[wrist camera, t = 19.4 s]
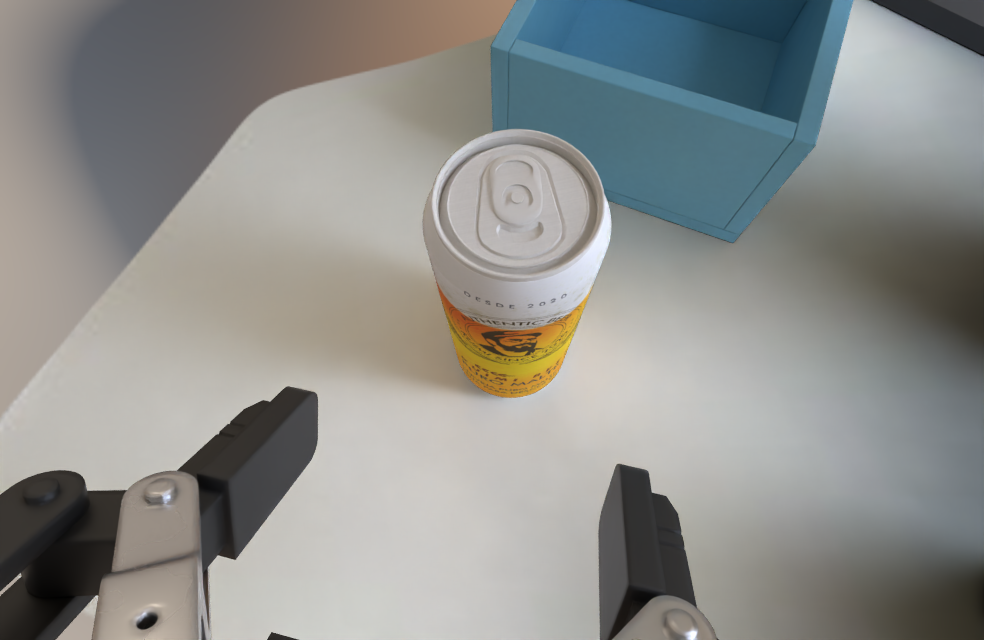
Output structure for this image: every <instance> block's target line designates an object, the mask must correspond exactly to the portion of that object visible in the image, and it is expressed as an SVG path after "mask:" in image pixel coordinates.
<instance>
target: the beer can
mask: <svg viewBox="0 0 984 640" xmlns="http://www.w3.org/2000/svg"><path fill="white" fill-rule="evenodd" d="M611 227H612V226H611V214H610V208H609V205H608V201H607V198H606V196H605V194H604V189H603V186H602V183H601V180H600V178H599V176H598V173H597V172H596V170H595V168H594V167H593V165H592V164H591V163H590V161H589V160H588V159H587V158H586V157H585V156H584V155H583V154H582V153H581V152H580V151H579V150H578V149H576V148H575V147H574V146H572V145H571V144H569V143H567V142H566V141H564V140H562V139H560V138H558V137H555V136H553V135H550V134H547V133H543V132H540V131H534V130H526V129H508V130H500V131H496V132H491V133H488V134H485V135H482V136H480V137H477V138H475V139H473V140H471V141H469V142H468V143H466V144H465V145H463V146H462V147H460V148H459V149H458V150H457V151H455V152H454V153H453V154H452V155H451V156H450V157H449V158H448V159H447V161H446V162H445V163H444V165H443V166H442V167H441V169H440V171H439V173H438V175H437V177H436V179H435V182H434V184H433V188H432V189H431V191H430V193H429V196H428V198H427V201H426V204H425V208H424V213H423V235H424V240H425V244H426V248H427V251H428V255H429V258H430V262H431V265H432V269H433V272H434V276H435V279H436V283H437V286H438V290H439V293H440V297H441V301H442V304H443V308H444V311H445V315H446V318H447V322H448V325H449V329H450V332H451V336H452V339H453V343H454V346H455V350H456V353H457V357H458V360H459V363H460V366H461V368H462V370H463V371H464V373H465V375H466V376H467V377H468V378H469V380H470V381H471V382H472V383H473V384H475V385H476V386H477V387H478V388H480V389H482V390H483V391H485V392H487V393H489V394H492V395H495V396H500V397H507V398H516V397H523V396H527V395H530V394H533V393H535V392H537V391H539V390H541V389H542V388H544V387H545V386H546V385H547V384H548V383H550V382H551V381H552V379H553V378H554V377H555V376H556V374H557V373H558V371H559V369H560V368H561V365H562V363H563V360H564V358H565V355H566V353H567V350H568V347H569V345H570V342H571V340H572V337H573V335H574V332H575V330H576V327H577V325H578V322H579V320H580V317H581V314H582V312H583V309H584V307H585V304H586V302H587V299H588V297H589V294H590V292H591V289H592V287H593V284H594V281H595V279H596V276H597V274H598V271H599V269H600V266H601V264H602V261H603V259H604V256H605V253H606V251H607V248H608V245H609V241H610V237H611Z"/></svg>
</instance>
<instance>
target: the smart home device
mask: <svg viewBox="0 0 984 640" xmlns="http://www.w3.org/2000/svg"><path fill="white" fill-rule="evenodd" d="M873 1H875V2H877V3H879V4H881V5H883V6H885V7H887V8H889V9H891V10H893V11H895V12H897V13H899V14H901V15H903V16H905V17H907V18H909V19H911V20H913V21H915V22H917V23H919V24H921V25H924V26H926V27H928V28H930V29H932V30H934V31H936V32H938V33H940V34H942V35H944V36H946V37H948V38H950V39H952V40H954V41H956V42H958V43H960V44H962V45H964V46H966V47H968V48H970V49H972V50H974V51H976V52H978V53H980V54H982V55H984V0H873Z"/></svg>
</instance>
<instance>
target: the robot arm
mask: <svg viewBox="0 0 984 640" xmlns="http://www.w3.org/2000/svg"><path fill="white" fill-rule="evenodd" d="M317 440H318V397H317V394H316V393H315V392H311V391H307V390H302V389H298V388H294V387H289V386H288V387H286V388H284V389H283V390H282V391H281V392H280V393H279V394H278V395H277V396H276V397H275V398H274V399H273V400H272V401H271V402H269V401H264V400H263V401H260V402H258V403H256V404H254V405H252V406H250V407H248V408H246V409H244V410H243V411H242V412H241V413H239V414H238V415H237V416H236V417H235V418H234V419H233V420H232V421H231V423H230V424H227V425H226V426H225V427H224V428H223V429H222V430H221V431H220V433H219V435H218V434H217V435H215V436H214V437H213V438H212V439H211V440H210V441H209V442H208V443H207V444H206V445H205V446H203V447H202V448H201V449H200V450H199V451H198V452H197V453H196V454H195V455H194V456H192V457H191V458H190V459H189V460H188V461H187V462H186V463H185V464H184V465H183V466H182V467H180V468H179V469H178V470H177V471H165V472H160V473H156V474H152V475H150V476H147V477H145V478H143V479H141V480H139V481H138V482H136V483H135V484H133V485H132V486H131V487H130V488H129V489H128V490H114V491H87V488H86V484H85V480H84V478H83V477H82V476H81V475H80V474H78V473H76V472H72V471H66V470H58V471H49V472H44V473H40V474H37V475H34V476H31V477H28V478H26V479H24V480H22V481H20V482H18V483H16V484H15V485H13V486H12V487H10V488H9V489H8V490H6V491H5V492H3V493H2V494H1V495H0V591H1V590H2V589H3V588H4V587H6V585H8V584H9V583H10V582H11V581H12V580H13V579H14V578H15V577H17V576H18V575H19V574H20V573H21V575H22V577H21V578H19V579H18V580H17V581H16V582H15V583H14V584H13V585H12V586H11V587H10V588H9V589H8V590H6V591H5V592H4V593H3V594H2V595H1V596H0V640H55V639H57V638H58V636H59V635H60V634H61V633H62V632H63V631H64V630H65V629H66V628H67V626H68V625H69V624H70V623H71V622H72V621H73V620H74V619H75V618H76V617H77V615H78V614H79V613H80V612H81V611H82V610H83V609H84V608H85V607H86V606H87V604H88V603H89V602H90V601H91V600H92V599H93V598H94V597H95V596H96V595H99V596H98V603H97V609H96V615H95V621H94V628H93V634H92V640H211V613H210V585H209V569H208V566H209V565H210V564H211V563H212V561H213V560H214V559H215V558H216V557H217V555H219V556H223V557H227V558H230V559H234V560H236V558H237V557H238V556H239V554H240V553H241V552H242V550H243V549H244V548H245V546H246V545H247V544H248V543H249V541H250V540H251V539H252V537H253V536H254V535H255V533H256V532H257V531H258V529H259V528H260V527H261V525H262V524H263V523H264V522H265V520H266V519H267V518H268V516H269V515H270V514H271V512H272V511H273V510H274V508H275V507H276V506H277V504H278V503H279V502H280V500H281V499H282V498H283V497H284V495H285V494H286V493H287V491H288V490H289V489H290V487H291V486H292V485H293V483H294V482H295V481H296V479H297V478H298V477H299V475H300V474H301V473H302V472H303V470H304V469H305V468H306V466H307V465H308V464H309V462H310V461H311V459H312V457H313V455H314V452H315V450H316V446H317ZM599 602H600V640H719V639H717V638H716V634H715V631H714V629H713V627H712V625H711V624H710V622H709V621H708V619H707V618H706V617H705V616H704V615H703V613H702V612H701V611H699V610H698V609H697V605H696V601H695V596H694V591H693V586H692V581H691V576H690V571H689V566H688V561H687V556H686V551H685V550H684V541H683V537H682V535H681V527H680V522H679V517H678V513H677V512H676V510H675V509H674V507H673V506H672V504H671V503H670V501H669V500H668V498H667V497H666V496H664V495H660V494H655V493H652V492H651V485H650V478H649V473H648V471H647V470H644V469H640V468H635V467H631V466H627V465H622V464H617V465H616V467H615V470H614V473H613V476H612V479H611V482H610V486H609V489H608V492H607V495H606V498H605V501H604V504H603V508H602V511H601V516H600V522H599ZM267 640H297V639H294V638H290V637H287V636H283V635H280V634H276V633H273V632H271V634H270V636H269V637H268V639H267Z"/></svg>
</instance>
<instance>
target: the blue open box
mask: <svg viewBox="0 0 984 640" xmlns="http://www.w3.org/2000/svg"><path fill="white" fill-rule="evenodd" d="M852 3H853V0H517V1H516V3H515V4H514V6H513V8H512V9H511V11H510V13H509V15H508V17H507V18H506V20H505V22H504V23H503V25H502V27H501V29H500V30H499V32H498V34H497V36H496V38H495V39H494V41H493V43H492V45H491V86H492V125H493V132H496V131H500V130H508V129H526V130H534V131H540V132H543V133H547V134H550V135H553V136H555V137H558V138H560V139H562V140H564V141H566V142H567V143H569V144H571V145H572V146H574V147H575V148H576V149H578V150H579V151H580V152H581V153H582V154H583V155H584V156H585V157H586V158H587V159H588V160H589V161H590V163H591V164H592V165H593V167H594V168H595V170H596V172H597V173H598V176H599V178H600V180H601V183H602V186H603V189H604V194H605V196H606V198H607V200H608V201H611V202H614V203H617V204H620V205H623V206H626V207H629V208H632V209H635V210H638V211H641V212H643V213H646V214H649V215H652V216H655V217H658V218H661V219H664V220H667V221H670V222H673V223H676V224H678V225H681V226H684V227H687V228H690V229H693V230H696V231H699V232H702V233H705V234H708V235H711V236H713V237H716V238H719V239H722V240H725V241H728V242H731V243H734V242H735V240H736V239H737V238H738V237H739V236H740V234H741V233H742V232H743V231H744V230H745V229H746V227H747V226H748V225H749V224H750V223H751V221H752V220H753V219H754V218H755V217H756V216H757V214H758V213H759V212H760V211H761V210H762V208H763V207H764V206H765V205H766V204H767V203H768V201H769V200H770V199H771V198H772V197H773V195H774V194H775V193H776V192H777V191H778V190H779V188H780V187H781V186H782V185H783V184H784V182H785V181H786V180H787V179H788V178H789V176H790V175H791V174H792V173H793V172H794V171H795V169H796V168H797V167H798V166H799V165H800V163H801V162H802V161H803V160H804V159H805V158H806V156H807V155H808V154H809V153H810V152H811V150H812V149H813V148H814V147H815V146H816V142H817V138H818V134H819V130H820V127H821V123H822V119H823V115H824V111H825V107H826V103H827V100H828V96H829V92H830V88H831V84H832V80H833V76H834V73H835V69H836V65H837V61H838V57H839V53H840V49H841V46H842V42H843V38H844V34H845V30H846V26H847V22H848V19H849V15H850V11H851V7H852Z"/></svg>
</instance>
